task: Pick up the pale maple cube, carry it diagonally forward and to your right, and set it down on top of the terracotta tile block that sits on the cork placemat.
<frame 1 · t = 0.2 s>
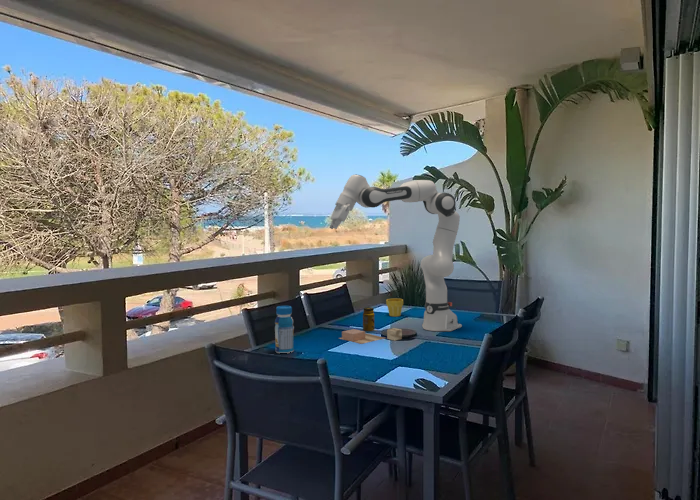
hand: (332, 228, 244), 54 cm above the table, tool tilted 30°, fingers open, 8 cm apart
cork placemat: (362, 338, 240), on the table
condiment: (367, 331, 257), on the table
beverage bottle: (284, 352, 217), on the table
terracotta block: (353, 338, 238), resting on cork placemat
maple cube: (394, 339, 238), on the table
plant pot: (394, 315, 298), on the table
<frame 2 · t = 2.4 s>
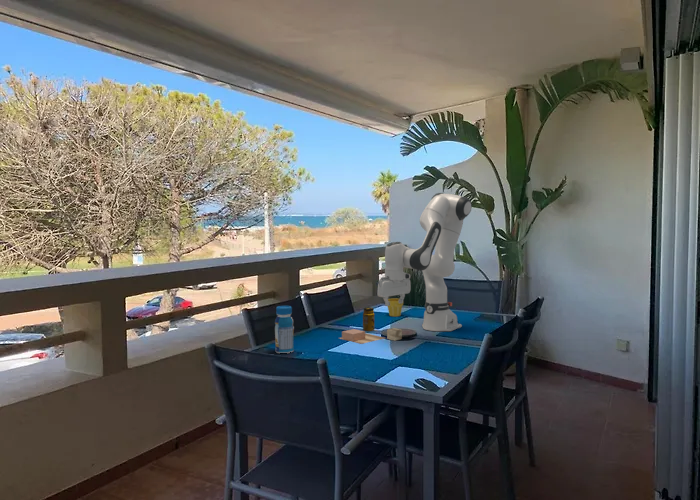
hand: (394, 304, 237), 17 cm above the table, tool pointing down, fingers open, 8 cm apart
nothing on the table moved.
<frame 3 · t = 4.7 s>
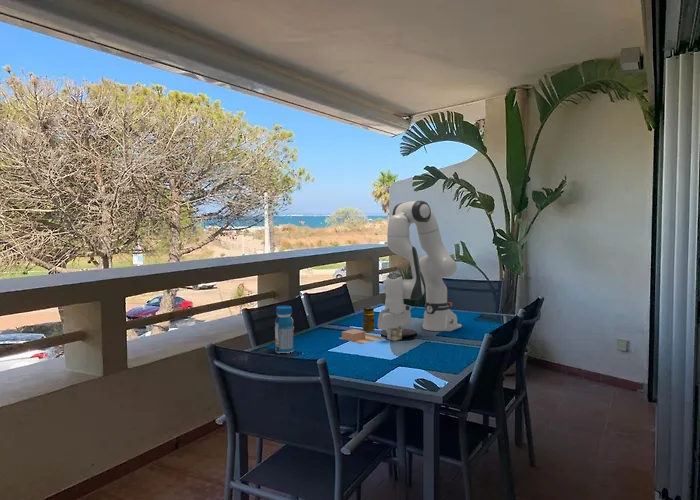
hand: (394, 336, 237), 2 cm above the table, tool pointing down, fingers closed on maple cube, 5 cm apart
maple cube: (394, 339, 237), on the table, touching gripper
everything else where it was.
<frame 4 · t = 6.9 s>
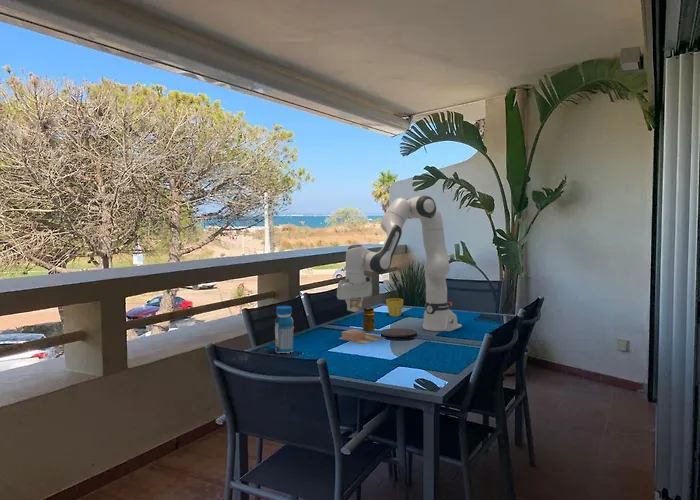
hand: (354, 307, 237), 16 cm above the table, tool pointing down, fingers closed on maple cube, 5 cm apart
maple cube: (354, 310, 237), point 14 cm above the table, touching gripper
everything else where it was.
when the fingers open (6 cm above the table, at t = 9.1 s): maple cube stays where it is, resting on terracotta block.
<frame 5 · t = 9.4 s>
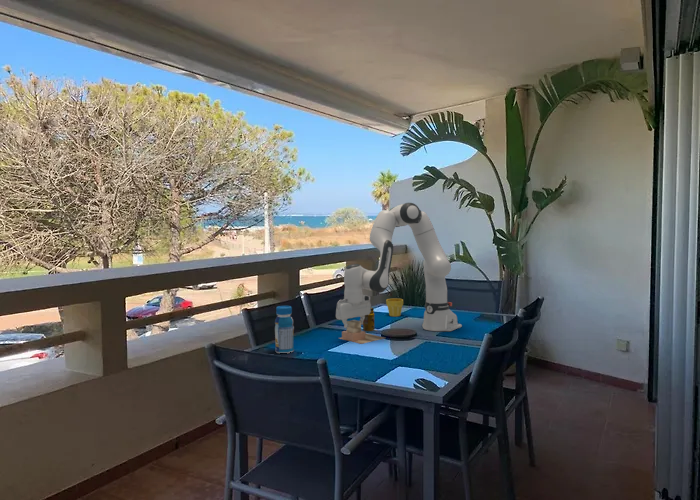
hand: (353, 326, 238), 6 cm above the table, tool pointing down, fingers open, 8 cm apart
terracotta block: (353, 338, 238), resting on cork placemat, touching maple cube
maple cube: (353, 331, 238), point 4 cm above the table, touching terracotta block
everything else where it was.
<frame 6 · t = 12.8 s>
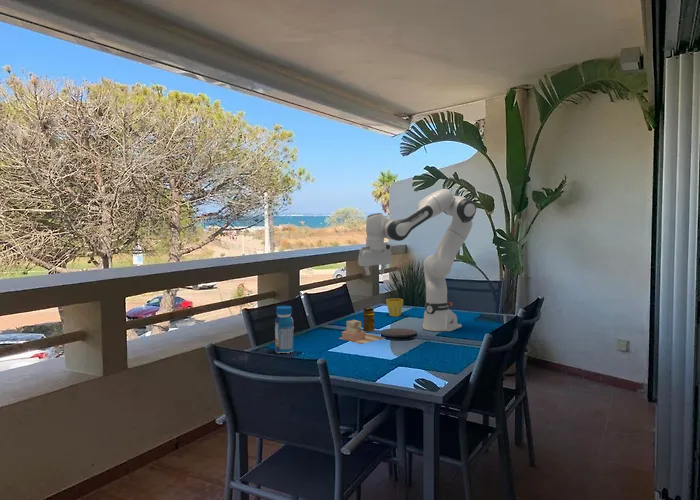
hand: (375, 274, 242), 31 cm above the table, tool pointing down, fingers open, 8 cm apart
nothing on the table moved.
at the end: maple cube 0.1 cm off-centre on the terracotta block, point 3.5 cm above the terracotta block's base; maple cube tilted 0°; the gripper is holding nothing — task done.
